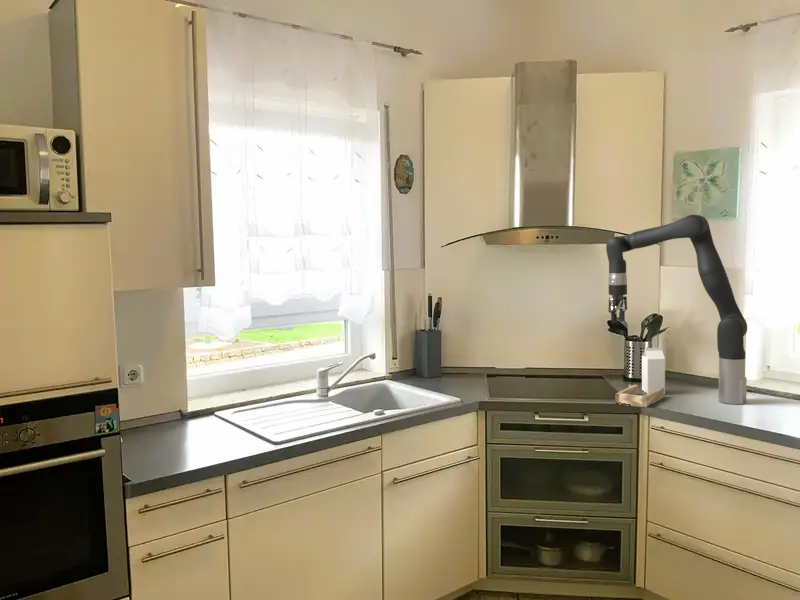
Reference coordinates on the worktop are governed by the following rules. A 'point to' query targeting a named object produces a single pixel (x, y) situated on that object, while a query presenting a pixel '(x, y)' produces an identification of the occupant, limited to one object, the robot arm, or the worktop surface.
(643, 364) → the milk carton
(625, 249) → the robot arm
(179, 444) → the worktop surface
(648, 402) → the U-rest
